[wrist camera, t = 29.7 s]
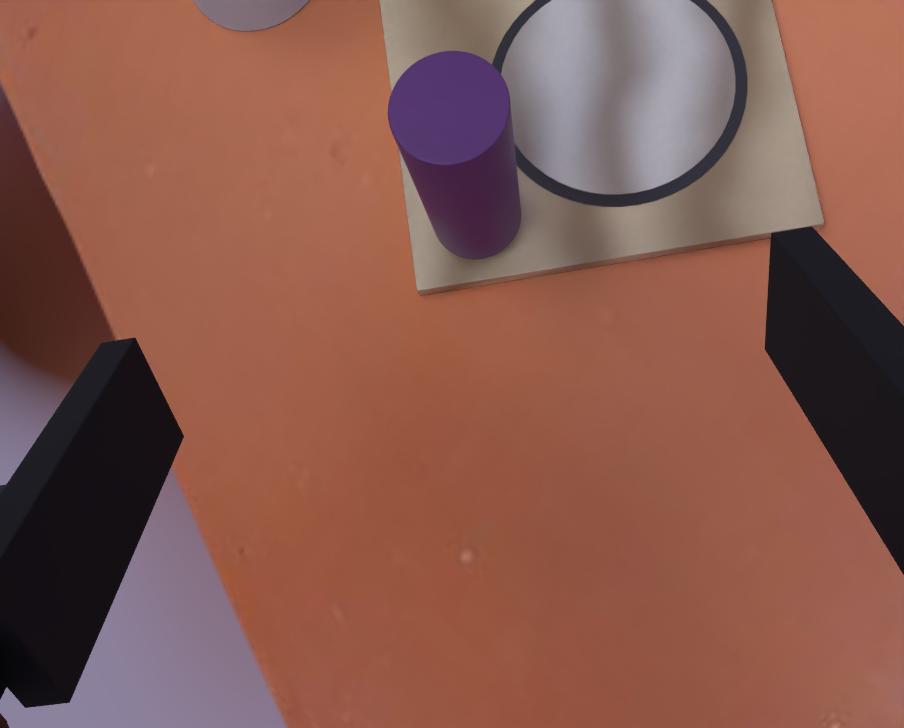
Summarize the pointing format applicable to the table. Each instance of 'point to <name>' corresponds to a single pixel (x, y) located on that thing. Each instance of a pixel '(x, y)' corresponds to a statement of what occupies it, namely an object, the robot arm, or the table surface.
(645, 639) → the table surface
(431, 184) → the purple cylinder
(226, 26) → the light grey upright cylinder
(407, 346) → the table surface
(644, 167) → the board
